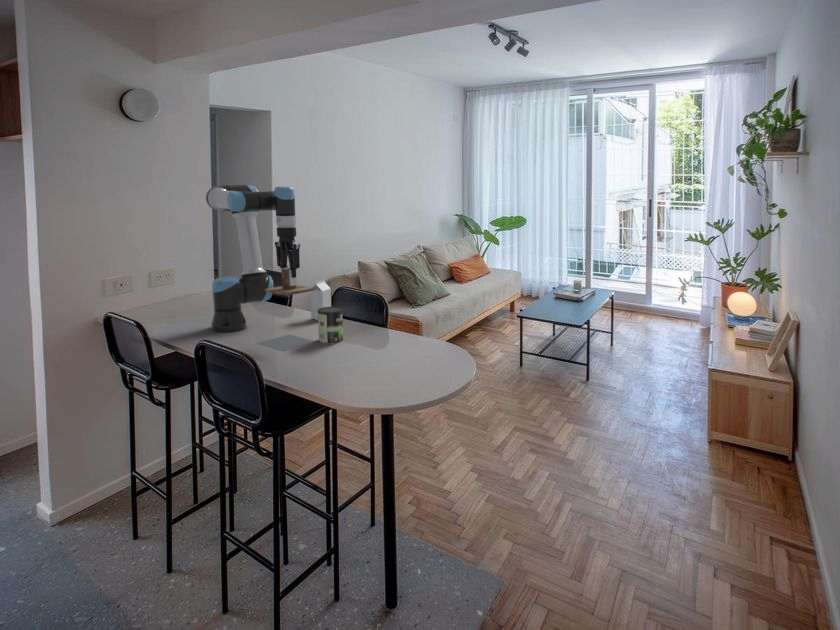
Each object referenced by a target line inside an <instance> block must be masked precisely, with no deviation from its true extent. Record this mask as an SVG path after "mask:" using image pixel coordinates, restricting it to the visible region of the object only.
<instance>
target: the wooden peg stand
mask: <svg viewBox="0 0 840 630" xmlns="http://www.w3.org/2000/svg"><path fill="white" fill-rule="evenodd" d="M289 269H290V267H287V268H285V269H281V268H280V270H281V273H282V274H281V285H280V286H275V287H274V286H273V288H267V289H265V291H266V292H271V293H273V294H275V295H281V296H288V297H289V296H292V295H297V294H303V293H310V291H314V288H312V287H309V286H304V285H301V284H299V285H298V284H296V285H295V286H290V282H289Z"/></svg>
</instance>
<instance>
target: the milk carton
mask: <svg viewBox="0 0 840 630" xmlns="http://www.w3.org/2000/svg"><path fill="white" fill-rule="evenodd" d="M311 288H314V291H309V294H310V296H309V297H310V316H311V317H310V319H315V320H314V321H318V309H319V308H323V307H332V292H331V291H332V290H331V287H330V286H329V285H328V284H327V283H326V281H325V279H322V280H319V281H316V282H315V283H314V284H313V286H312V287H311Z"/></svg>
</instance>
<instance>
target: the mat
mask: <svg viewBox="0 0 840 630" xmlns="http://www.w3.org/2000/svg"><path fill="white" fill-rule="evenodd" d="M313 343H316V340H311V339H308V338H304V337H301V336H297V335H294V334H293V335H292V334H286V335H282V336H278V337H275V338H271V339H267V340H263V341H259V342H257V344H258V345H261V346H264V347H269V348H271V349H274V350H278V351H281V352H285V351H288V350H292V349H295V348H299V347H302V346H305V345H309V344H313Z"/></svg>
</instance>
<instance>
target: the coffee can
mask: <svg viewBox="0 0 840 630" xmlns="http://www.w3.org/2000/svg"><path fill="white" fill-rule="evenodd" d="M343 310H344V309H343V308H342V307H339V306H331V307H323V308H319V309H318V320H317V322H318V341H319V343H321V344H324V345H334V344H339V343H342V342H343V341H344V329H343V328H344V327H343V326H344V324H343V323H344V322H343Z"/></svg>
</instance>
